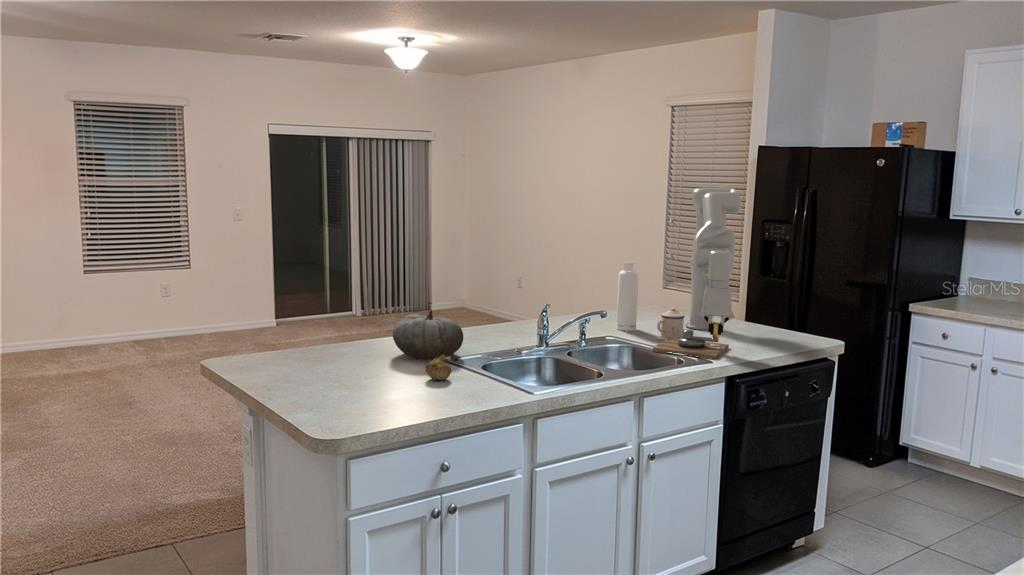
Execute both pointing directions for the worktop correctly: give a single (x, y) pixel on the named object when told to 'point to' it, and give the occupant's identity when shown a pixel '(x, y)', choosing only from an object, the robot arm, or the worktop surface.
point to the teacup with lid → (671, 324)
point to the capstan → (696, 341)
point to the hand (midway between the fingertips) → (715, 333)
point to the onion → (439, 368)
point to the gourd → (427, 336)
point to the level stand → (691, 348)
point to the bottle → (627, 297)
